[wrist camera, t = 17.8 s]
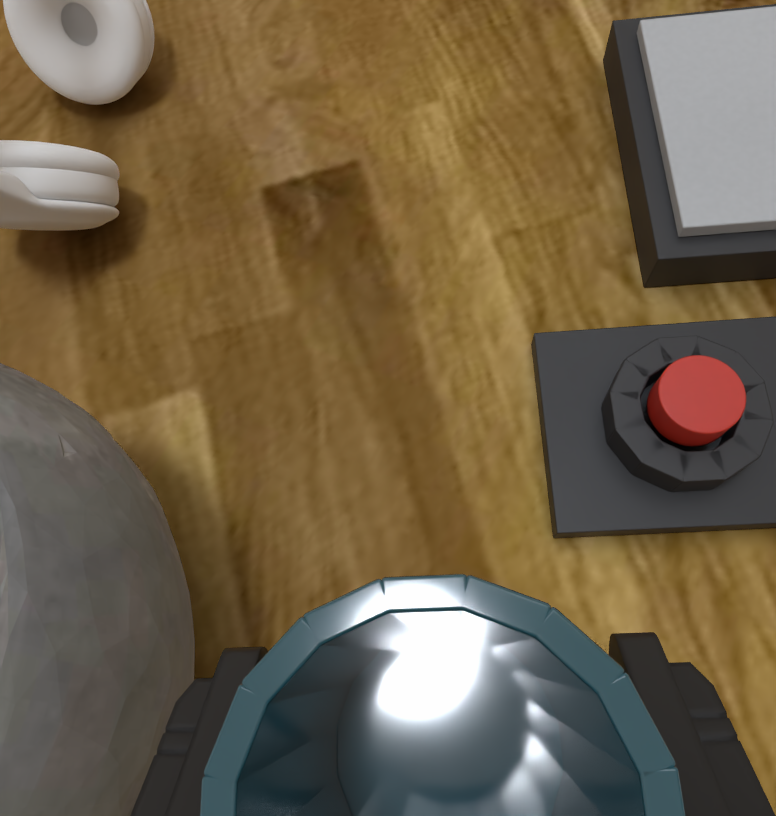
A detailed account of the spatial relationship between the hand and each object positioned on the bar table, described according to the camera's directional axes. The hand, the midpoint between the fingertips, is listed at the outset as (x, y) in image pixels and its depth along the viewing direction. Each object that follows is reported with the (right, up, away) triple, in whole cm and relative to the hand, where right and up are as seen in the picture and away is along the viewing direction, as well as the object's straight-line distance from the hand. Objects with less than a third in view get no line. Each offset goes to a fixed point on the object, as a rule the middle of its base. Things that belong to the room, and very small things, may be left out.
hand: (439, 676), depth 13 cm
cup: (0, -3, +4) cm, 5 cm away
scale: (+18, +18, +22) cm, 33 cm away
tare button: (+11, +5, +15) cm, 19 cm away
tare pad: (+11, +4, +17) cm, 21 cm away
